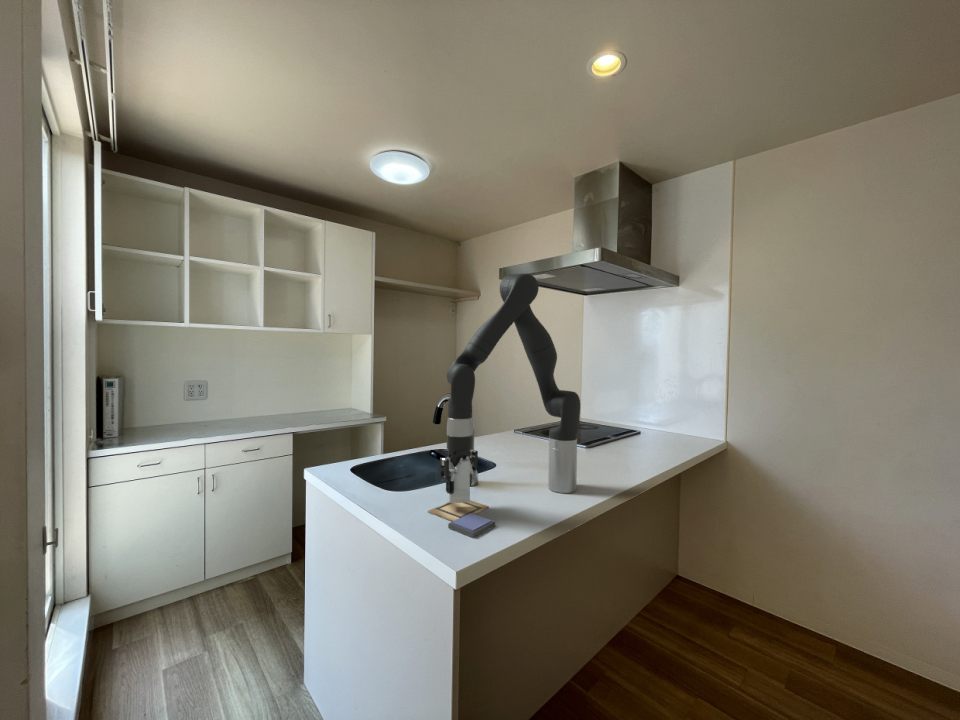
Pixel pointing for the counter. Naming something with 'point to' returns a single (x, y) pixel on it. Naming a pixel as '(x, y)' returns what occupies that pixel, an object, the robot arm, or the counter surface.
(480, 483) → the counter surface
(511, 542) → the counter surface
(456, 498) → the skincare box
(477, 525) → the ink pad
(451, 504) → the print sheet
